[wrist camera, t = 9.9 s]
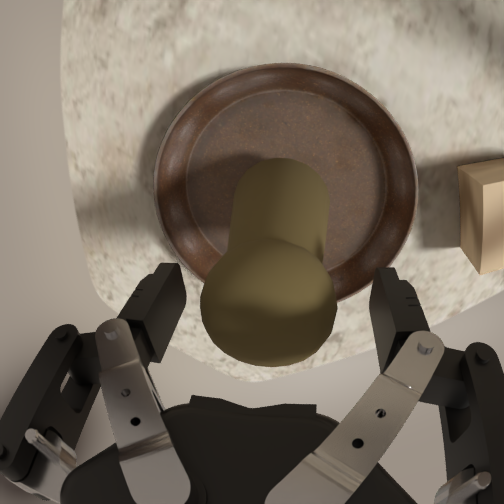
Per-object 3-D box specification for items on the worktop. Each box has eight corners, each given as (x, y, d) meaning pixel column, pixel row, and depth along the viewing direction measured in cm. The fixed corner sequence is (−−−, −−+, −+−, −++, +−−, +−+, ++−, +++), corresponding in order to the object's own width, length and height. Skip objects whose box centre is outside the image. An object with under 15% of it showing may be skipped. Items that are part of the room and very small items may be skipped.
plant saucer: (366, 35, 16) (377, 29, 13) (420, 258, 24) (431, 280, 21) (132, 124, 21) (111, 132, 19) (225, 306, 29) (218, 329, 26)
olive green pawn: (278, 260, 22) (261, 401, 13) (214, 200, 20) (147, 325, 11) (349, 209, 19) (383, 346, 10) (284, 137, 17) (268, 231, 8)
